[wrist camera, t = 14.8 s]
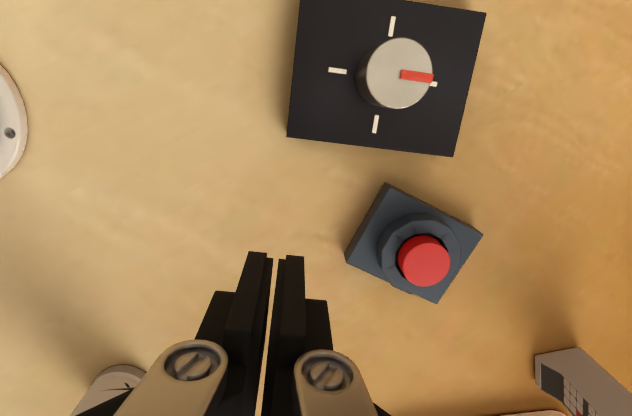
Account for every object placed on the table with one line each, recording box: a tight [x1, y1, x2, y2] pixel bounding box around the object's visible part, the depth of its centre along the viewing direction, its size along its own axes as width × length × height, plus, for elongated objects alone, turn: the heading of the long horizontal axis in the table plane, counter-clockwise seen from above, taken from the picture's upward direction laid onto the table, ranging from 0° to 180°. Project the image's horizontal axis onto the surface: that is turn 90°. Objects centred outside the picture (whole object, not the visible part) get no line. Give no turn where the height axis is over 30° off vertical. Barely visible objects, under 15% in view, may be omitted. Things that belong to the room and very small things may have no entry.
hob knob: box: [355, 37, 434, 109], centre depth 27 cm, size 4×4×5 cm
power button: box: [398, 235, 450, 287], centre depth 32 cm, size 4×4×2 cm
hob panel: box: [286, 0, 486, 157], centre depth 30 cm, size 14×11×3 cm
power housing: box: [344, 182, 483, 304], centre depth 34 cm, size 10×8×4 cm
